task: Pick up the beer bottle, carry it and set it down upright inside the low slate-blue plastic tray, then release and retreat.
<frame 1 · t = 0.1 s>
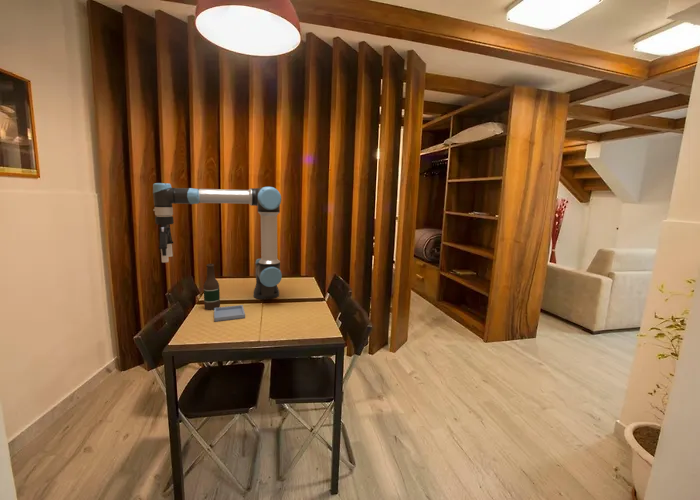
hand: (167, 259, 153), 28 cm above the table, fingers open, 13 cm apart
beer bottle: (212, 308, 167), on the table
tray: (229, 314, 158), on the table
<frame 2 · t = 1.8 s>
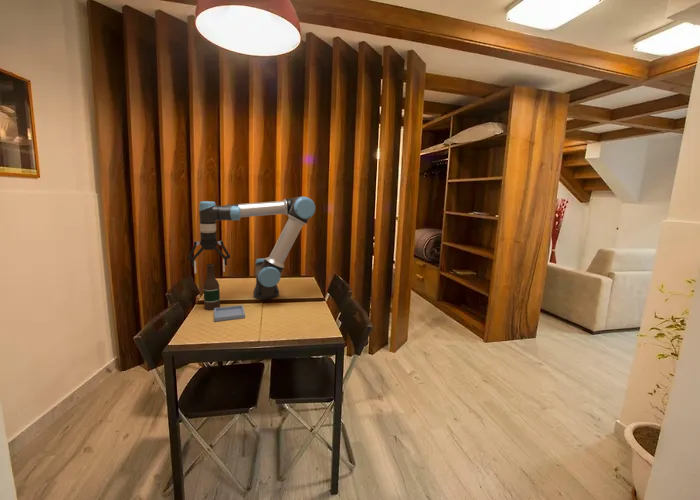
hand: (210, 272, 163), 20 cm above the table, fingers open, 13 cm apart
nothing on the table moved.
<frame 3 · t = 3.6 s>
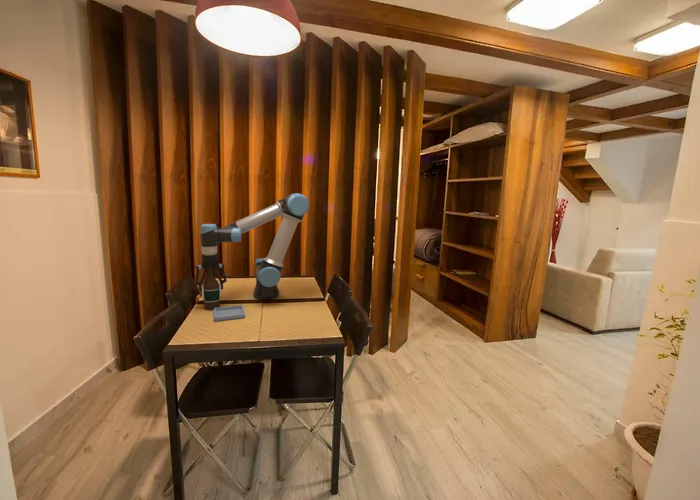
hand: (211, 295, 165), 7 cm above the table, fingers closed on beer bottle, 8 cm apart
beer bottle: (212, 308, 167), on the table, touching gripper
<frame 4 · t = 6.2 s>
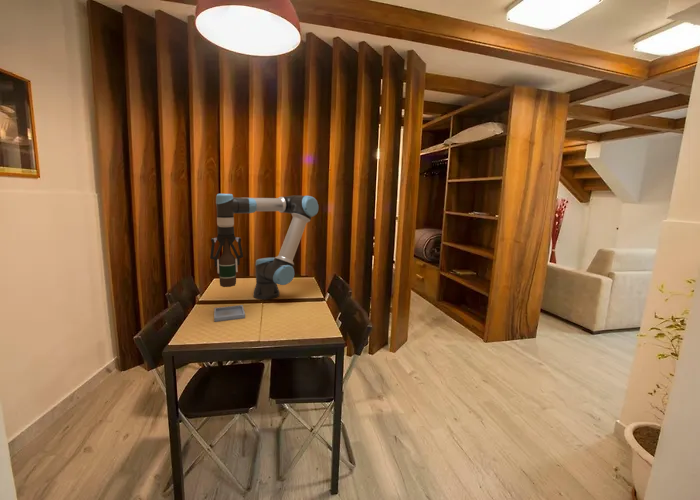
hand: (227, 272, 154), 22 cm above the table, fingers closed on beer bottle, 8 cm apart
beer bottle: (228, 285, 155), point 15 cm above the table, touching gripper
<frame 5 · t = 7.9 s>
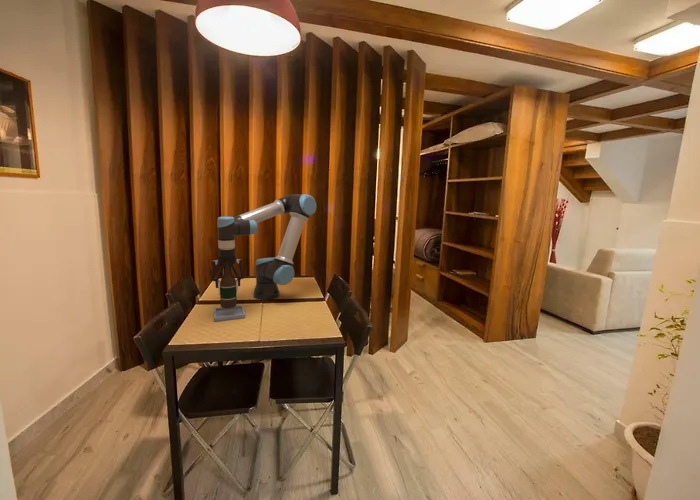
hand: (228, 293, 156), 11 cm above the table, fingers closed on beer bottle, 8 cm apart
beer bottle: (228, 306, 157), point 5 cm above the table, touching gripper
when the fingers open (9 cm above the table, at t = 9.0 s): beer bottle drops 1 cm, resting on tray.
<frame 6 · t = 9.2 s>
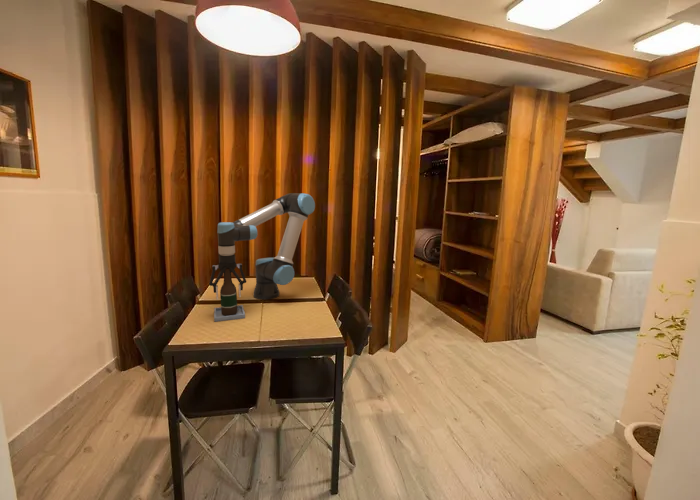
hand: (228, 297, 156), 9 cm above the table, fingers open, 10 cm apart
beer bottle: (229, 313, 158), resting on tray
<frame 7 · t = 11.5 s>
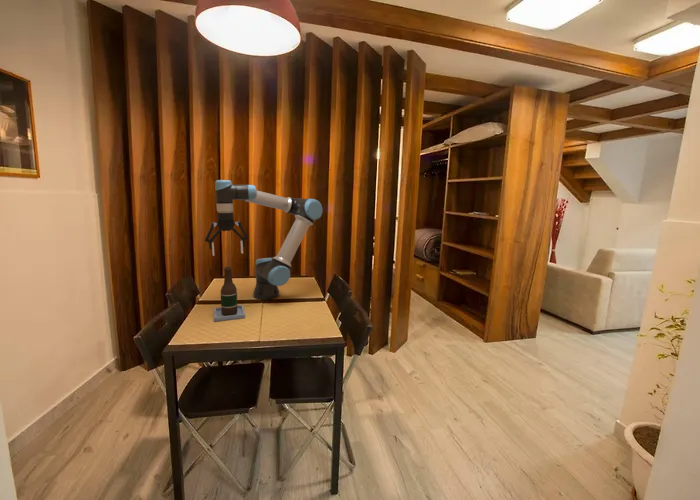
hand: (228, 254, 158), 30 cm above the table, fingers open, 13 cm apart
nothing on the table moved.
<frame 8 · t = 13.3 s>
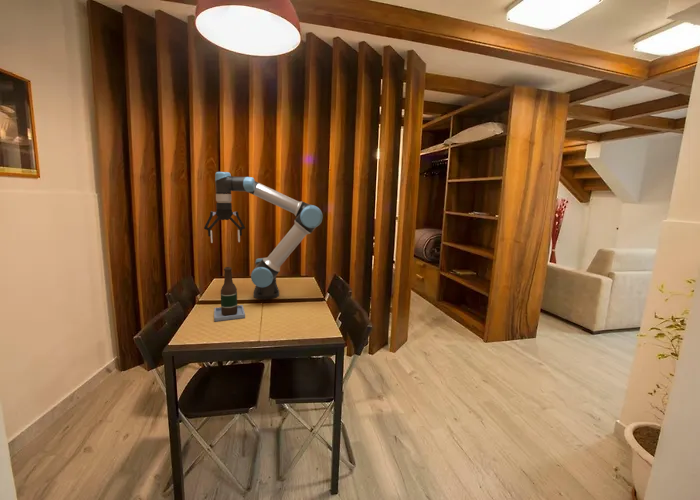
hand: (225, 242, 167), 35 cm above the table, fingers open, 13 cm apart
nothing on the table moved.
at the end: beer bottle inside the target area on the tray (0.1 cm from its centre), point 0.4 cm above the tray's base; beer bottle tilted 0°; the gripper is holding nothing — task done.
